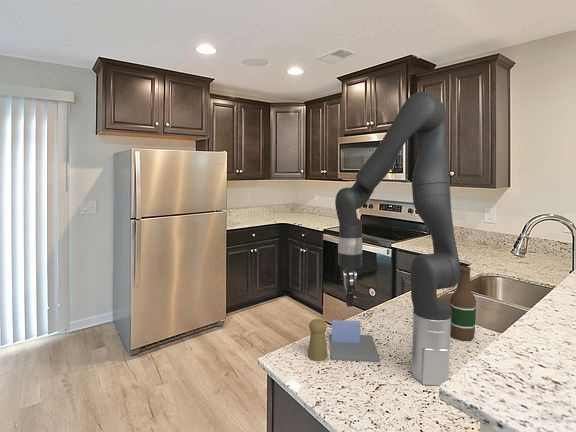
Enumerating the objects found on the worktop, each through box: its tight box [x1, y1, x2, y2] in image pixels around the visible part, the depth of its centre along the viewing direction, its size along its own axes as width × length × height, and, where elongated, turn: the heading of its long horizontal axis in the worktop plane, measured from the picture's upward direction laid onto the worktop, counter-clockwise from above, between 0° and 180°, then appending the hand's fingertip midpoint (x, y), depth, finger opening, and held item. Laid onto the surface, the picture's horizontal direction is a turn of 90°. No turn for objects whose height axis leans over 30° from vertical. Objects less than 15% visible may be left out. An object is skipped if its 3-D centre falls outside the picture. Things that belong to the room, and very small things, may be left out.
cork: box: [307, 318, 329, 362], centre depth 102 cm, size 6×6×11 cm
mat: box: [329, 333, 381, 363], centre depth 107 cm, size 16×14×1 cm
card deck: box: [331, 319, 361, 343], centre depth 110 cm, size 2×9×6 cm, turn 84°
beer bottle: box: [449, 265, 477, 342], centre depth 114 cm, size 8×8×24 cm
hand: (349, 303), depth 109 cm, fingers open, 3 cm apart
